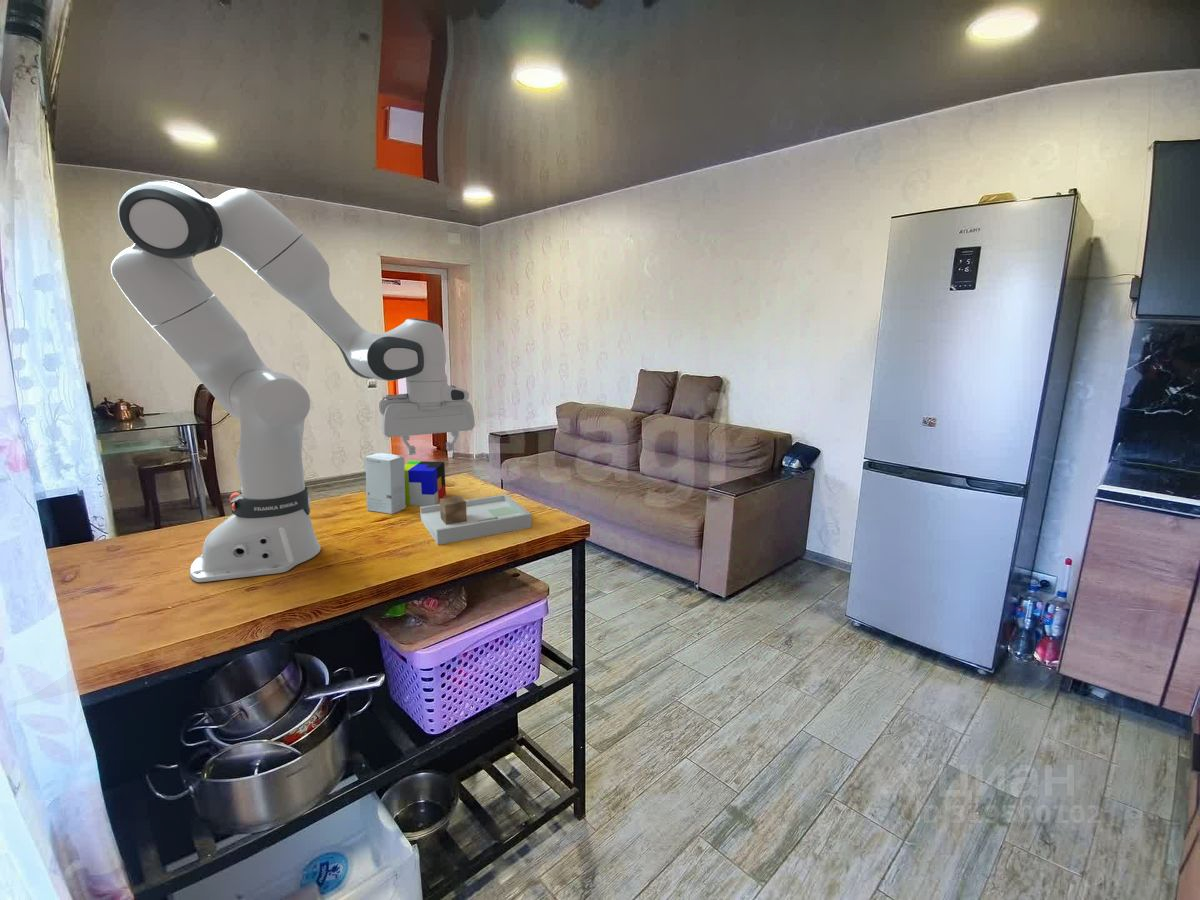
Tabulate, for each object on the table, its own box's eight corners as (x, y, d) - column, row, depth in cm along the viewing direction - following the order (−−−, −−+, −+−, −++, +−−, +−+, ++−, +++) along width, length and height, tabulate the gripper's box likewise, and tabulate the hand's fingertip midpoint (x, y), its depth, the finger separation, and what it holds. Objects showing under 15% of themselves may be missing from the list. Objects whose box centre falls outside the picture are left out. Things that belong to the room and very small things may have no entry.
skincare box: (366, 511, 136) (362, 456, 133) (382, 504, 142) (378, 451, 138) (393, 515, 134) (389, 459, 130) (408, 507, 140) (404, 454, 136)
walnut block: (446, 524, 123) (445, 504, 121) (440, 518, 127) (439, 498, 126) (466, 521, 125) (466, 501, 124) (460, 514, 129) (460, 495, 128)
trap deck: (438, 544, 116) (437, 530, 115) (420, 520, 131) (420, 506, 130) (531, 527, 127) (531, 514, 127) (506, 506, 142) (505, 494, 141)
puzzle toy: (434, 506, 141) (432, 471, 139) (398, 505, 141) (395, 470, 139) (445, 494, 151) (444, 461, 149) (412, 494, 151) (409, 461, 149)
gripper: (380, 397, 109) (385, 460, 112) (475, 392, 119) (477, 450, 122) (376, 393, 114) (381, 454, 117) (467, 389, 124) (470, 445, 127)
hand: (431, 452), depth 120 cm, fingers open, 7 cm apart
